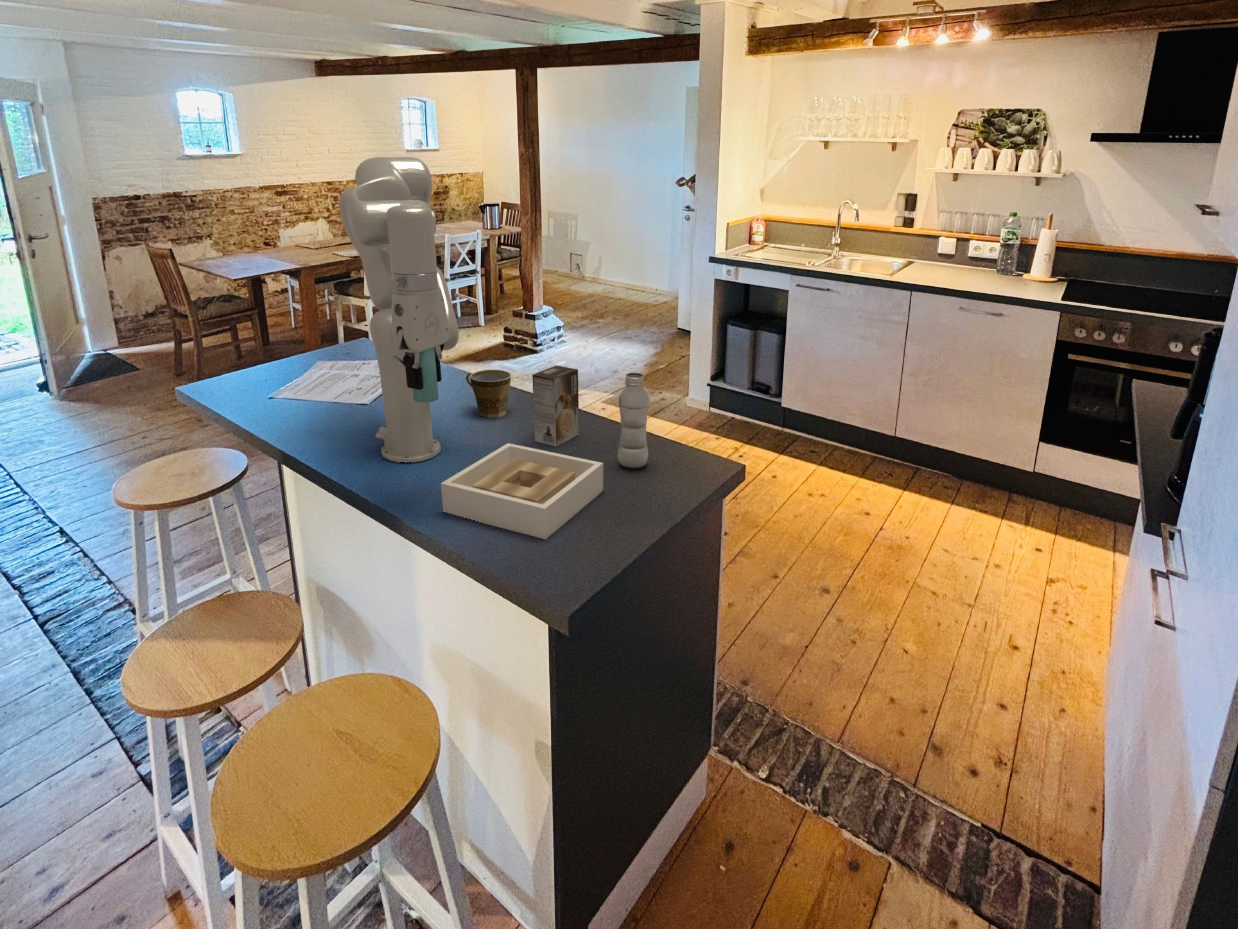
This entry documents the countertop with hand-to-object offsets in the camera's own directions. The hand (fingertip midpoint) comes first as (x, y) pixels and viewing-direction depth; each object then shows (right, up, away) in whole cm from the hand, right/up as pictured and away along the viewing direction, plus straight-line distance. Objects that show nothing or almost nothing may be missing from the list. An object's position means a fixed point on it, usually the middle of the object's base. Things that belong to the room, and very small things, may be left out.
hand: (424, 383), depth 137 cm
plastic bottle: (+38, -15, +25) cm, 48 cm away
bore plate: (+17, -22, +9) cm, 29 cm away
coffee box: (+21, -9, +39) cm, 45 cm away
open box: (+17, -22, +9) cm, 29 cm away
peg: (0, -3, +1) cm, 3 cm away
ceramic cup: (+2, -2, +54) cm, 54 cm away
